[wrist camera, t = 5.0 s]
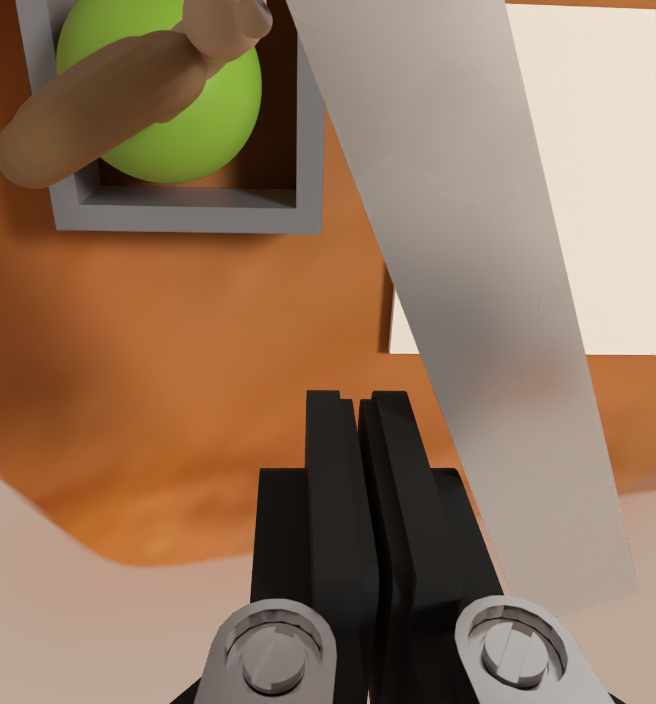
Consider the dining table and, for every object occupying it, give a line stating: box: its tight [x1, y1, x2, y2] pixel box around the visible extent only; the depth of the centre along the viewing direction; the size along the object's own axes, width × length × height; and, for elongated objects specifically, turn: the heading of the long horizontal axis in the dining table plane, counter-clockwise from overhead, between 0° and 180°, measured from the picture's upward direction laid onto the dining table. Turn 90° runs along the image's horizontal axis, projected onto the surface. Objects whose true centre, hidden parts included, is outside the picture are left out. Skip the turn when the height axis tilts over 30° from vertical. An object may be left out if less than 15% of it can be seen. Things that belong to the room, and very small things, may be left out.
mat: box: [388, 4, 656, 355], centre depth 22 cm, size 12×12×1 cm
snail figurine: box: [0, 0, 273, 189], centre depth 14 cm, size 5×6×12 cm
